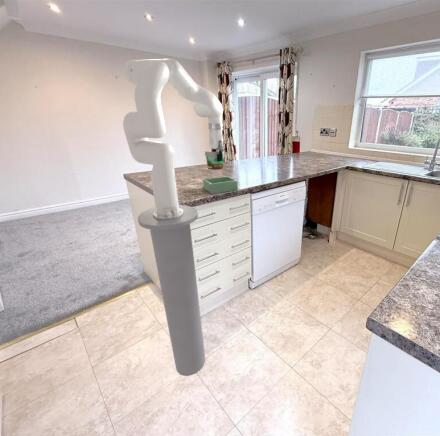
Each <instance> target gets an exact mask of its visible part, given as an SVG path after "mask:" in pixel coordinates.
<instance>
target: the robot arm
mask: <svg viewBox="0 0 440 436" xmlns="http://www.w3.org/2000/svg"><path fill="white" fill-rule="evenodd" d="M123 74H124V76H125V78H126V80H127V81H128V82H129V83H130V84H132V85H133V86H135V88H134V93H133V94H134V97H133V98H134V102H135V103H134V104H135V107H136V111H129V112H128V113H126V114H125V115H124V118H123V121H122V125H123V126H122V127H123V131H124V135H125V139H126V142H127V147H128V149H129V152H130V154H131V156H132V158H133V160H134V161H136V162H137V163H138V164H144V165H152V168H151V171H150V182H151V187H152V193H153V200H154V205H155V207H156V211H155V212H154V213H153V217H154V218H156V219H162V220H167V219H174V218H177V217H180V216H181V215H182V214H183V210H182V209H181V208H179V205H180V203H179V196H178V187H177V180H176V173H175V162H176V161H175V160H176V152H175V149H174V148H173V146H171V144H169V143H167V142H164V141H157V140H149V139H161V138H164V136H165V135H166V124H165V119H164V114H163V108H162V104H161V94H162V91H163V89H164V88H165V86H166V85H167V84H169V85H171V87H173V88H174V90H175V91H177V93H178V94H179V95H180V96H181V97H182V98H184V99H185V100H188V101H190V102H192V103H194V105H193V111H194V113H195V115H196V116H198V117H200V118H207V126H208V147H209V148H210V149H211V150H210V152H217V161H223V150H224V137H223V128H224V127H223V113H224V109H223V105H222V103H221V101H220V100H219V99H218V97H217V96H216V95H215V94H214V93H213V92H212V91H210V90H208V89H207V88H205V87H203V86H202V85H199V84H198V83H196V81H195V80H194V79H193V78H192V76H191V75H189V73H188V72H187V71H186V69H185V68H184V67H183V65H182V64H181V63H180V62H179V61H178V60H176V59H173V58H154V59H134V60H133V59H131V60H128V61H127V62H125V64H124V67H123ZM223 162H224V161H223Z"/></svg>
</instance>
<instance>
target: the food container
mask: <svg viewBox="0 0 440 436" xmlns="http://www.w3.org/2000/svg"><path fill="white" fill-rule="evenodd" d="M225 155H226V153H225V150H224V149H223V161H217V152H211V151H205V152H204V156H205V157H206V158H205V159H206V163H207V164H206V165H207V169H208V170H210V171H211V170H212V171H213V170H214V171H215V170H216V171H217V170H223V169H224V162H225V161H224V157H225Z"/></svg>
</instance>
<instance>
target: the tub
mask: <svg viewBox="0 0 440 436" xmlns="http://www.w3.org/2000/svg"><path fill="white" fill-rule="evenodd" d="M202 185H203V186H202V187H203V189H204V190H205V191H206V192H208V193H209V194H211V195H215V194H220V193H228V192H232V191H238V190H239V189H238V188H239V187H238V180H237V179H235V178H233V177H231V176H229V175H226V176H217V177H209V178H203V179H202Z"/></svg>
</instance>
